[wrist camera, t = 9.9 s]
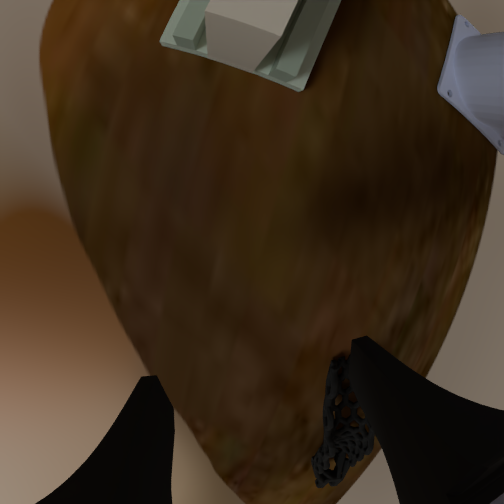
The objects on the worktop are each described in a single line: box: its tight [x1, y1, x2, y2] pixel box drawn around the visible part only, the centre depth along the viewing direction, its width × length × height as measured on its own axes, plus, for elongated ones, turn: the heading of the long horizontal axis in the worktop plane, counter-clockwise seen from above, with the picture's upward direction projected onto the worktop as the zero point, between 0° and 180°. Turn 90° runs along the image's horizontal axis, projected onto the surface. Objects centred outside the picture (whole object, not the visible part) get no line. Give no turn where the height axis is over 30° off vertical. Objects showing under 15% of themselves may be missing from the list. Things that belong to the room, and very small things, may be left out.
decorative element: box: [311, 355, 375, 488], centre depth 26 cm, size 22×5×6 cm, turn 6°
